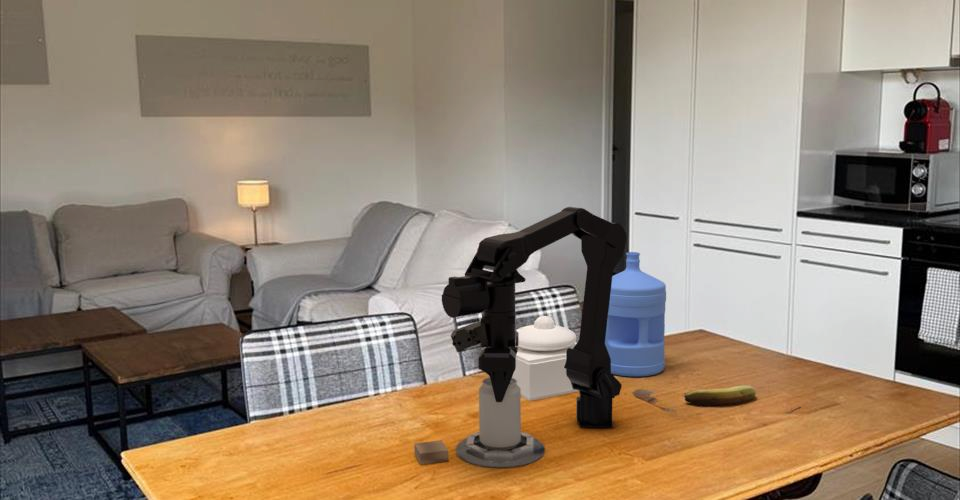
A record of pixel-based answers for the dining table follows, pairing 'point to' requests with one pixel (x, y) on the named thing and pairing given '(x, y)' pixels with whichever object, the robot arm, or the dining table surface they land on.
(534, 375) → the butter dish
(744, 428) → the dining table surface
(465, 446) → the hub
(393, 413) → the dining table surface
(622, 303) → the water jug
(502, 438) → the can
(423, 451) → the walnut block
